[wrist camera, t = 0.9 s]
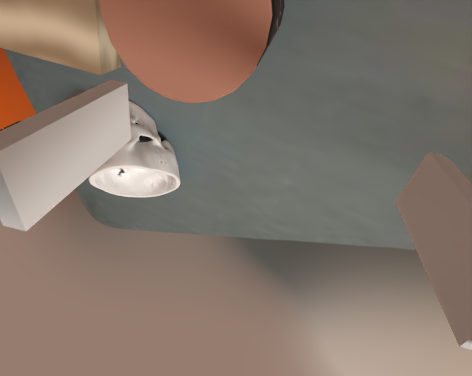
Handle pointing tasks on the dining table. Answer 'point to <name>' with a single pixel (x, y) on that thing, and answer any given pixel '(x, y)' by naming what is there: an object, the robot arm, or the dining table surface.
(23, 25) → the beech block
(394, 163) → the dining table surface
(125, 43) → the coffee jar
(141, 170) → the skull bowl
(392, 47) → the dining table surface
